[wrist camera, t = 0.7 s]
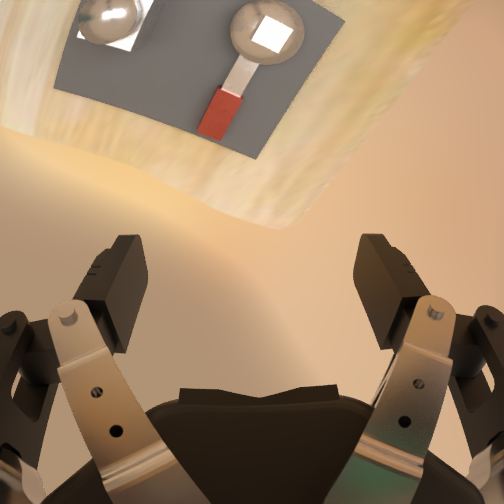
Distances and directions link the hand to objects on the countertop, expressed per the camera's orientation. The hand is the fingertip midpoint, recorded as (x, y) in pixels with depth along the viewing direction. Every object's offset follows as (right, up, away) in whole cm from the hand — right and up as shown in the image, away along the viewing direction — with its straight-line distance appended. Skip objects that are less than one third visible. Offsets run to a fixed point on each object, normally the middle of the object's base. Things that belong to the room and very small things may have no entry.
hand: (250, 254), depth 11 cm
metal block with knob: (-11, +22, +10) cm, 26 cm away
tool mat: (-6, +20, +14) cm, 25 cm away
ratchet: (-1, +18, +15) cm, 23 cm away
